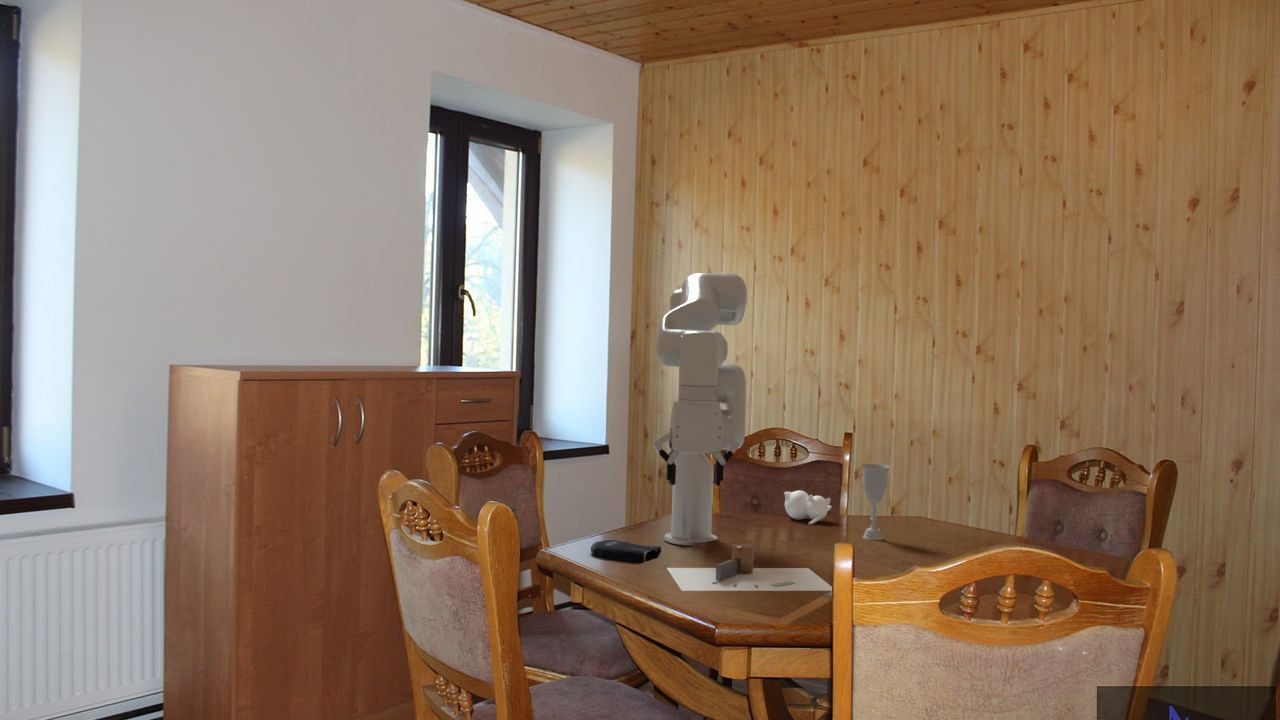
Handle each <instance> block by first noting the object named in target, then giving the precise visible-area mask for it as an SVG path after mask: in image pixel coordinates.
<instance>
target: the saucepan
mask: <svg viewBox="0 0 1280 720" xmlns="http://www.w3.org/2000/svg"><path fill="white" fill-rule="evenodd" d="M754 554H755V546H754V545H751V544H748V543H735V544H732V547H731V558H730V559H728V560H726V561H722V562H721V563H717V564H715V568H716V580H718V581H721V580H724V579H726V578H729V577H731V576H733V575H736V574H738V573H752V572H753V568H754V556H755V555H754Z"/></svg>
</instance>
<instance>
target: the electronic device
mask: <svg viewBox="0 0 1280 720" xmlns="http://www.w3.org/2000/svg"><path fill="white" fill-rule="evenodd" d="M590 552H591V554H593V556H595V557H598V558H602V557H603V559H609V560H615V559H617V561H624V562H625V561H627V562H634V561H635V562H637V563H647V562H650V561H652V560H653V559H658V558H659V556H660V555H661V553H662V546H661V545H656V546H655V545H651V546H649V545H644V544H643V545H642V544H636V543H631V542H628V541H622V540H618V539H606V540H605V539H603V540H600V541H599V540H598V541H596V542H594V543H592V545H591V546H590ZM646 557H647V558H646Z"/></svg>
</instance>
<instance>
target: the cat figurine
mask: <svg viewBox="0 0 1280 720" xmlns="http://www.w3.org/2000/svg"><path fill="white" fill-rule="evenodd" d="M784 498H785V499H784V500H785V501H784V508H785V511H786V513H787V514H788V516H790V517H791V518H792V519H793V520H797V521H799V520H800V521H801V520H803V519H805V518H806V517H807V516H808V517H809V518H810V519H811V521H809V522H808V525H810V526H811V525H814V524H815V523H817V522H819V521H822V520H823V519H824V518H825V517H826V516H827V514H828V511H830V510H831V509H832V505H830V503H831V498H830V497H828V498H825V497H824V496H822V495H814V496H813V494H810V495H809V494H808V493H807V492H806V491H804V490H795V491H784Z"/></svg>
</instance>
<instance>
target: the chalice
mask: <svg viewBox="0 0 1280 720" xmlns="http://www.w3.org/2000/svg"><path fill="white" fill-rule="evenodd" d="M861 468H862V469H863V470H862V472H863V473H862V488H863V490H864V493H865V495H866V499H867V501H868V502H869V503H871V506H872V507H871V510H870V512H871V516H870V518H869V519H870V521H871V525H870V526H869V527H867V528H866V529H865V531H864V532H863V536H862V539H865V540H871V541H882V540H884V538H883V536H882V535H883V534H882V533H881V530H880V528H877V526H876V522H877V520H878V518H877V512H878V511H877V504H879V503H881V502H882V501H881V500H882V499H883V498H884V495H885V494H886V491H887V488H888V478H889V470H890V469H891V466H890V465H884V464H875V463H874V464H873V463H863V464H861Z"/></svg>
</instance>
